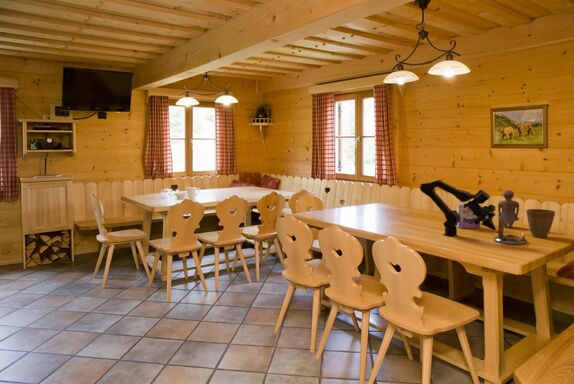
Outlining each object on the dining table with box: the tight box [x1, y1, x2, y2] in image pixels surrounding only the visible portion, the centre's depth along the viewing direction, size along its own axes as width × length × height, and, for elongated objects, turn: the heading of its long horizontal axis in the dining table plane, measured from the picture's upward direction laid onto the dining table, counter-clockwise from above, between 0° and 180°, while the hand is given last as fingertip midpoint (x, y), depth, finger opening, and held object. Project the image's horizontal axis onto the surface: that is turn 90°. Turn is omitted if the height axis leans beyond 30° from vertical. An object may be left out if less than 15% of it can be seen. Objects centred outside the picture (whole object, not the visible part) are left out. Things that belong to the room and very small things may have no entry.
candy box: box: [456, 202, 482, 230], centre depth 287 cm, size 14×6×16 cm, turn 81°
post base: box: [493, 233, 528, 246], centre depth 246 cm, size 17×17×5 cm
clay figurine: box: [497, 189, 520, 228], centre depth 285 cm, size 13×10×25 cm
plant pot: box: [525, 208, 556, 239], centre depth 256 cm, size 15×15×16 cm
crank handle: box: [497, 219, 521, 242], centre depth 243 cm, size 12×13×11 cm
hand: (495, 229), depth 246 cm, fingers closed
